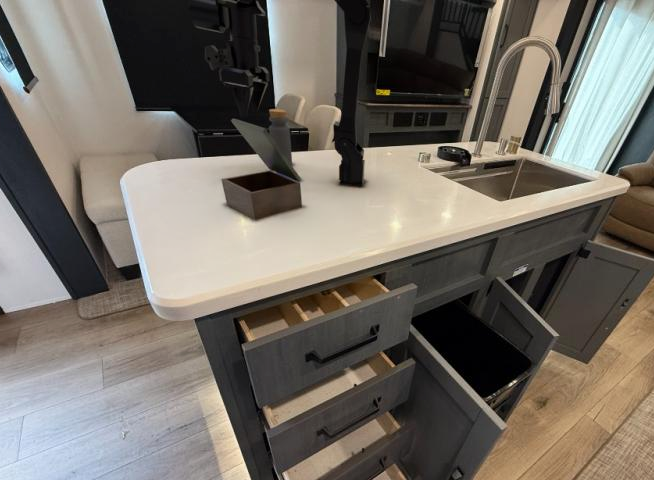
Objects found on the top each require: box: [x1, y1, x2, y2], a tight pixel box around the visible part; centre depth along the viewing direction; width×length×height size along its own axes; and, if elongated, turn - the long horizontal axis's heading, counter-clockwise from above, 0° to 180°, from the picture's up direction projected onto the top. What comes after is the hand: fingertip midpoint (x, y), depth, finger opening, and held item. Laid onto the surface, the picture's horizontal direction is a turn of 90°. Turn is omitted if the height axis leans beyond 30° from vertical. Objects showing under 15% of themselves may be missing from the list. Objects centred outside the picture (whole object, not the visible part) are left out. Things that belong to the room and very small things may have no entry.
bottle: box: [268, 108, 293, 166], centre depth 97 cm, size 6×6×15 cm
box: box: [221, 169, 303, 221], centre depth 73 cm, size 12×11×6 cm
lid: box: [230, 118, 302, 182], centre depth 69 cm, size 13×11×1 cm
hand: (249, 114), depth 83 cm, fingers open, 9 cm apart
